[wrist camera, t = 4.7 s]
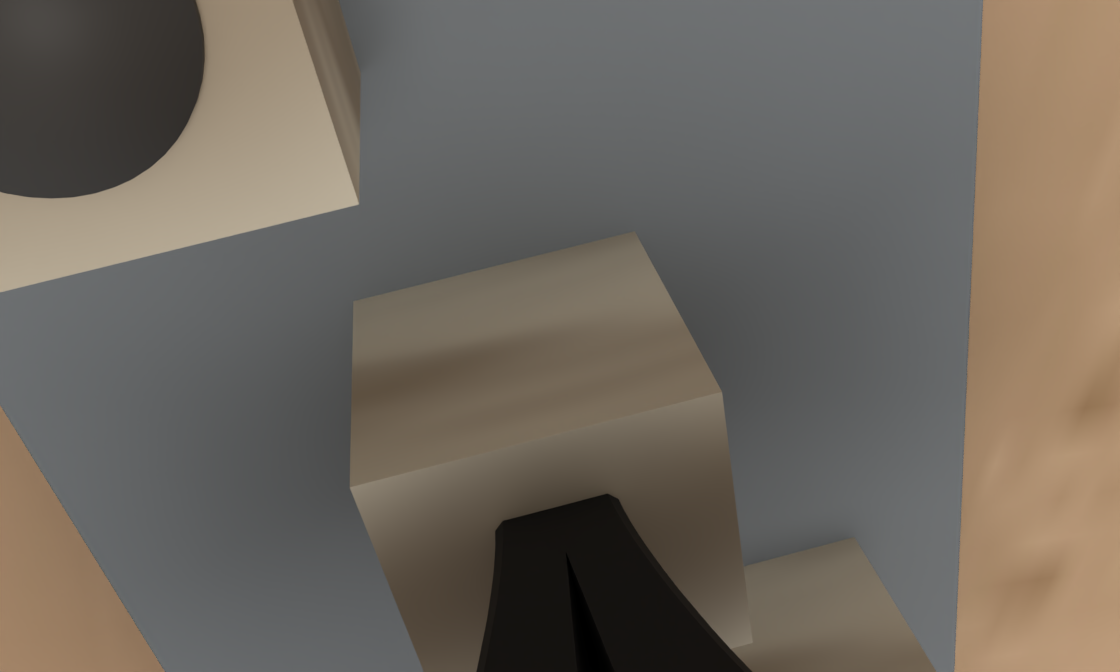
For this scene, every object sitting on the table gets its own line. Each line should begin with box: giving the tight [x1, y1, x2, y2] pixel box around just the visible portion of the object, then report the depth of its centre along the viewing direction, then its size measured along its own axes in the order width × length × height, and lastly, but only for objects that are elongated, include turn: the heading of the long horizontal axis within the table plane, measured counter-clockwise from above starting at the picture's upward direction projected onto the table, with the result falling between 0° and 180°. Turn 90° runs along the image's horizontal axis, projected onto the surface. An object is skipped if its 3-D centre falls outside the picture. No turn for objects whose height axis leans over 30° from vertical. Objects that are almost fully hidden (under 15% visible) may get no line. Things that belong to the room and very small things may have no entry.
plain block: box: [350, 231, 753, 672], centre depth 13 cm, size 4×4×4 cm
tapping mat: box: [0, 0, 983, 672], centre depth 15 cm, size 20×14×1 cm
